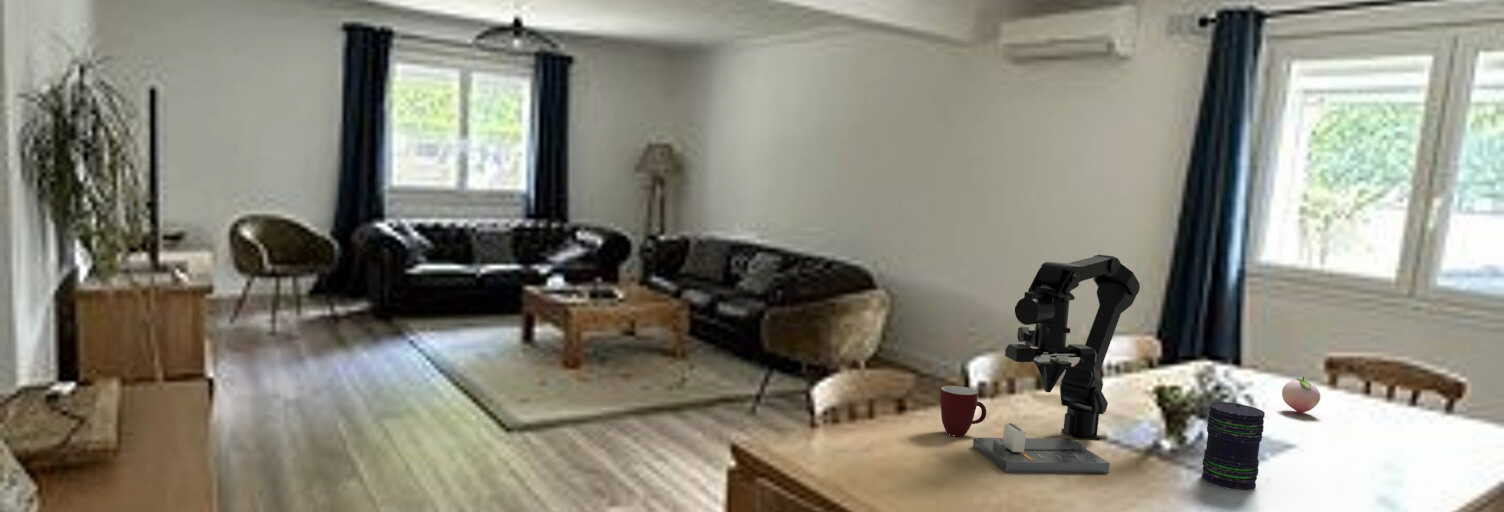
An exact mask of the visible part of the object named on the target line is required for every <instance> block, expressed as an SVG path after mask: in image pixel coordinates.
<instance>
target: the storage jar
mask: <svg viewBox="0 0 1504 512" xmlns="http://www.w3.org/2000/svg"><path fill="white" fill-rule="evenodd" d="M1265 414H1266V413H1265V411H1264V410H1262V409H1259V408H1257V407H1254V406H1250V405H1246V404H1241V403H1235V402H1234V403H1233V402H1226V401H1225V402H1224V401H1223V402H1222V401H1216V402H1211V403H1210V404H1209V412H1208V416H1207V426H1206V432H1207V437H1206V438H1207V440H1206V448H1205V450H1204V454H1203V458H1202V473H1201V479H1202V480H1203V481H1205V483H1206V482H1207V483H1209V484H1210V485H1213V486H1215V487H1220V488H1223V489H1228V490H1234V491H1245V492H1246V491H1254V490H1255V489H1256V487H1257V483H1256V481H1257V479H1258V475H1259V463H1260V460H1259V454H1260V453H1259V452H1260V445H1261V442H1262V440H1263V432H1264V429H1265V428H1264V427H1265V426H1264V422H1265V420H1264V418H1265Z"/></svg>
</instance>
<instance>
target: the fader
mask: <svg viewBox="0 0 1504 512" xmlns="http://www.w3.org/2000/svg"><path fill="white" fill-rule="evenodd" d="M1003 425H1004V428H1003V436H1002V438H1003V443H1004V444H1005V447H1007V448H1008V449H1010V450H1011V451H1012V452H1024V447H1025V438H1027V437H1026V436H1027V435H1026V434H1027V430H1026V429H1024V428H1022V427H1021V426H1019V425H1018V424H1016V423H1011V422H1009V423H1004V424H1003Z"/></svg>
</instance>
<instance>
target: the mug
mask: <svg viewBox="0 0 1504 512" xmlns="http://www.w3.org/2000/svg"><path fill="white" fill-rule="evenodd" d="M939 397H940V399H939V402H940V414H941V422H942V424H943V425H942V426H943V427H944V430H945V432H947V433H948V434H947V433H946V434H947V435H949V434H950V435H949V436H951V435H955V436H954V437H957V436H962V437H964V435H967V433H968V432H969V429H970V428H971V426H972V425H977V424H980V423H982V422H983V421H984V420H985V419H986V417H987V408H986V405H985V404H984V403H982V402H981V401H978V400H979V399H978V397H979V391H977V390H976V389H974V388H971V387H967V386H962V385H961V386H960V385H959V386H958V385H946V386H942V387H941V388H940V396H939ZM977 407H979V408H980V409H981V415H980V417H978V418H977V419H974V418H975V414H976V410H977Z"/></svg>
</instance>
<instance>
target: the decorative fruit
mask: <svg viewBox="0 0 1504 512" xmlns="http://www.w3.org/2000/svg"><path fill="white" fill-rule="evenodd" d="M1281 396H1282V400H1283V402H1284V403H1285V404H1286V405H1288V406H1289V407H1290V408H1291V409H1293V410H1294V411H1295V412H1297V413H1298V414H1303V413H1307V412H1309V411H1312V410H1313V409H1315V407H1317V405H1318V404H1319V403H1320V401H1321V393H1320V391H1319V389H1318V387H1317V386H1315V384H1312V383H1310V382H1308V381H1307V380H1306V379H1305V376H1302V378H1301V377H1300V378H1299V377H1298V378H1297V377H1296V379H1294V380H1290V381H1288V382H1287V383H1285V384H1284V386H1283V387H1282V389H1281Z"/></svg>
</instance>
